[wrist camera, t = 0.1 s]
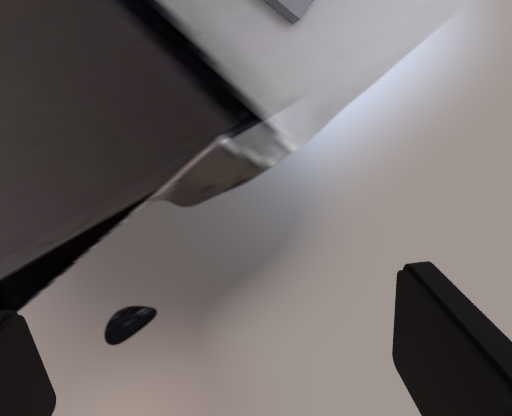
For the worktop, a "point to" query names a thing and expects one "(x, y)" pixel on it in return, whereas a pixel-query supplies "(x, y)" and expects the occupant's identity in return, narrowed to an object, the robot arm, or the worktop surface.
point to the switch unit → (290, 8)
